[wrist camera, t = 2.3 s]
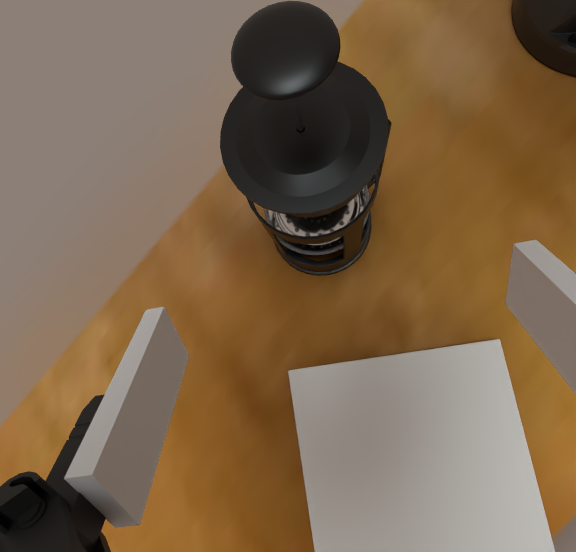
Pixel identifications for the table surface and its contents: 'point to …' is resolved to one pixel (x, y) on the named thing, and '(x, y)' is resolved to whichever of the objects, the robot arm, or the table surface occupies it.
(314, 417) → the white square mat
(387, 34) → the table surface
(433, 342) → the table surface
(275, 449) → the table surface
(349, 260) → the french press
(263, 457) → the table surface
